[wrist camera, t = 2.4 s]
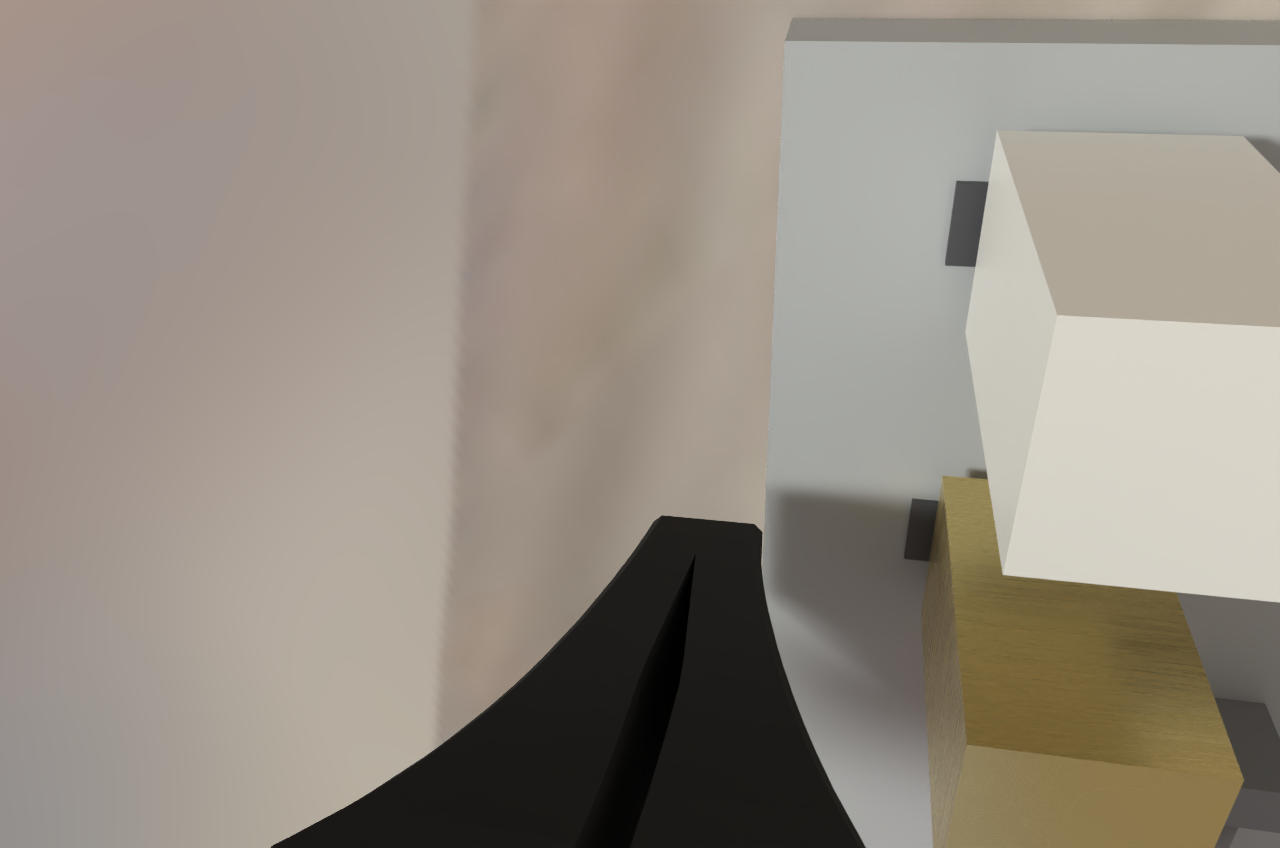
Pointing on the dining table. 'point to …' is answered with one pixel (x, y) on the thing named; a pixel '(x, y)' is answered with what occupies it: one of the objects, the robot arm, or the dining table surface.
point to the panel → (948, 356)
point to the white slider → (1131, 360)
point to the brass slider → (1062, 704)
